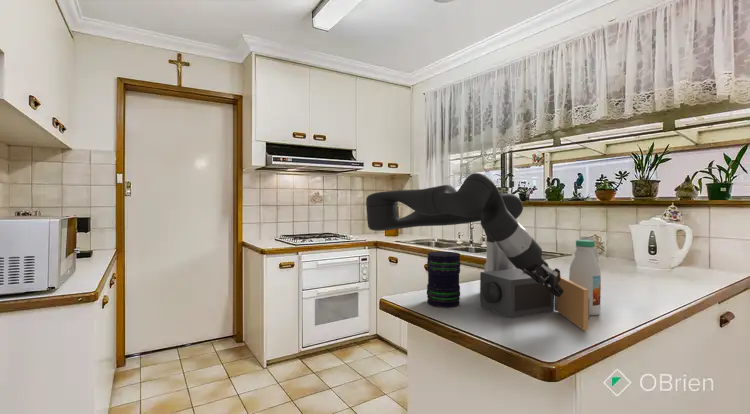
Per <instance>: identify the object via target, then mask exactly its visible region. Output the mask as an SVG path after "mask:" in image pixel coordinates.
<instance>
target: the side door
mask: <svg viewBox="0 0 750 414" xmlns="http://www.w3.org/2000/svg"><path fill="white" fill-rule="evenodd" d="M558 285H559V286H560V287H561V288H562V289H563V291H564V292H563V293H562V295H561V296H560V297H557V296H554V311H555V312H558V313H559V314H561V315H562V316H564V317H565V318H567V320H569V321H570V322H571V323H573V324H574V325H576V326H577V327H578V328H580V329H581V330H582V331H588V329H589V320H590V315H589V298H588V289H586V288H584V287H582V286H580V285H578V284H576V283H574V282H572V281H570V280H569V278H566V277H564V276H562V275H560V281H559V282H558Z"/></svg>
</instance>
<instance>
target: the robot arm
mask: <svg viewBox="0 0 750 414" xmlns="http://www.w3.org/2000/svg"><path fill="white" fill-rule="evenodd" d="M399 203H402V204H403V205H406V207H409V208H410V209H412V210H413V212H411V213H409V214H408V215H406V216H403V217H401V218H400V217H399ZM365 204H366V205H365V206H366V207H365V208H366V209H365V210H366V221H367V227H368V229H369V230H371V231H375V232H376V231H377V232H380V231H382V232H383V231H393V230H401V229H409V228H415V227H433V226H434V227H436V226H437V227H438V226H454V225H462V224H468V223H469V224H471V223H476V222H480V226H481V228H482V229H483V231H484V234H485V237H486V258H485V259H486V262H485V263H484V265H483V266H484V267H483V270H484V271H483V272H487V271H498V270H508V269H521V270H522V271H524V272H525V273H526V274H527V275H529V276H530V277H531V278H533V279H534V280H535V281H536V282H538V283H540V282H541V284H542V285H543V286H546V287H547V288H548V289H549V291H550V292H551V293H552V294H553V295H554V297H555V296H557V297H560V296H561V295H562V293H563V292H564V291H563V289H562V288H561V287H560V286H559V285H558V282H559V281H560V276H561V270H560V269H559V268H557V267H556V268H555V269H552V268H551V267H549V264H548V262H547V261H546V260H545V259H544V258H542V255H543V250H542V247H541V246H540V245H539V243H537V241H536V239H534V238H533V236H532V235H531V234H530V233H529V232H528V231H527V229H526V228H525V227H524V226H523V225H521V224H520V223H519V222H518V220H517V219H518V218H519V217H520V215H522V213H523V210H524V204H523V202H522V200H521V199H520V197H518V196H517V195H515V194H513V193H510V192H509V193H508V192H500V191H499V189H498V187H497V186H496V184H495V183H494V181H493V180H492V179H491V178H489V177H488V176H487V175H485V174H483V173H480V172H474V173H471V174H469V175H468V176H467V177H466V178H465V179H464V181H463V182H462V183H461V186H459V189H458V190H456V188H455V187H453V186H452V185H449V184H444V185H438V186H433V187H428V188H421V189H404V190H403V189H401V190H388V191H380V192H379V191H378V192H374V193H370V194H369V195H367V196H366V199H365Z"/></svg>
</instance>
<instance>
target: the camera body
mask: <svg viewBox="0 0 750 414" xmlns="http://www.w3.org/2000/svg"><path fill="white" fill-rule="evenodd" d="M479 276H480V278H479V280H480V282H479V283H480V284H479V285H480V289H479V293H480V294H479V301H480V302H479V307H481V308H483V309H486V310H489V311H492V312H494V313H497V314H499V315H502V316H505V317H507V318H509V319H514V318H519V317H525V316H531V315H537V314H543V313H550V312H554V311H555V310H554V300H555V296H554V295H553V294H552V293H551V292H550V291H549V289H548V288H547V287H546V286H543V285H542V284H541V282H540V283H538V282H536V281H535V280H534V279H533V278H531V277H530V276H529V275H527V274H526V273H525V272H524V271H522V270H521V269H518V268H516V269H508V270H498V271H487V272H484V271H480V275H479Z"/></svg>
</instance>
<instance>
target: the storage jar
mask: <svg viewBox="0 0 750 414" xmlns="http://www.w3.org/2000/svg"><path fill="white" fill-rule="evenodd" d="M426 260H427V262H426V266H427V268H426V271H427V284H426V295H427V296H426V298H427V300H426V303H427V304H428V305H429V306H431V307H436V308H441V309H442V308H443V309H450V308H456V307H459V306H460V305H461V302H460V299H461V298H460V297H461V286H460V274H461V253H460V252H456V251H455V252H454V251H442V250H441V251H439V250H438V251H429V252H427V259H426Z"/></svg>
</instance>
